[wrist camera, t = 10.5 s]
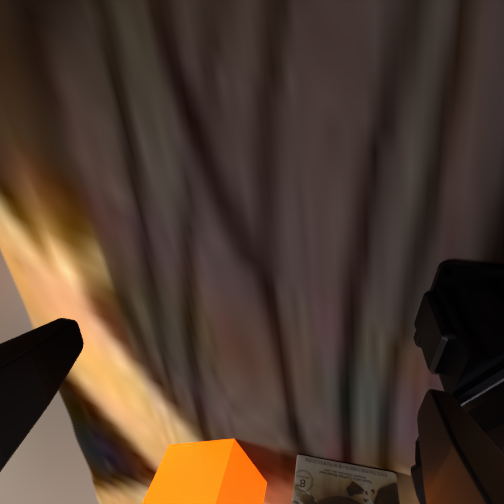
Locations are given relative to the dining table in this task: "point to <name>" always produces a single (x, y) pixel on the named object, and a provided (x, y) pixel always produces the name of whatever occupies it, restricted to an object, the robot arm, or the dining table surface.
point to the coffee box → (341, 483)
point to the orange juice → (206, 475)
